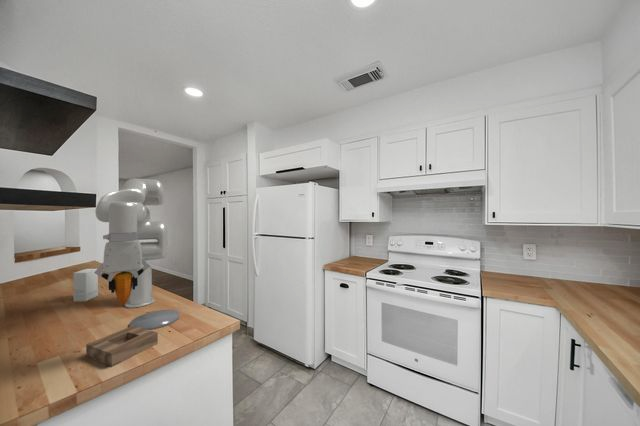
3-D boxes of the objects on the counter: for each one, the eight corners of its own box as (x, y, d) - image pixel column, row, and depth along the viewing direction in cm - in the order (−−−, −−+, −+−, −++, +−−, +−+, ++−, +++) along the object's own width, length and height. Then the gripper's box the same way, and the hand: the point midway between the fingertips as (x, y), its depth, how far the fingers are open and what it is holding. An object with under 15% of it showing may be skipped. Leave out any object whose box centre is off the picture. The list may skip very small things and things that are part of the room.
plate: (119, 325, 99) (119, 323, 99) (162, 309, 116) (162, 307, 116) (148, 334, 93) (148, 331, 93) (188, 315, 109) (188, 313, 109)
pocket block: (86, 356, 78) (86, 344, 78) (133, 335, 91) (133, 325, 91) (111, 366, 73) (111, 353, 73) (157, 343, 86) (157, 332, 86)
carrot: (113, 305, 82) (113, 262, 82) (131, 301, 86) (131, 259, 86) (115, 309, 79) (115, 264, 79) (134, 305, 83) (134, 262, 82)
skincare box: (86, 296, 134) (86, 268, 134) (99, 295, 134) (99, 268, 134) (72, 301, 125) (72, 272, 125) (86, 301, 126) (86, 272, 126)
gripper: (87, 240, 74) (87, 299, 74) (154, 237, 84) (154, 288, 85) (90, 238, 80) (91, 292, 80) (152, 235, 90) (152, 283, 91)
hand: (123, 289), depth 82 cm, fingers closed on carrot, 4 cm apart
